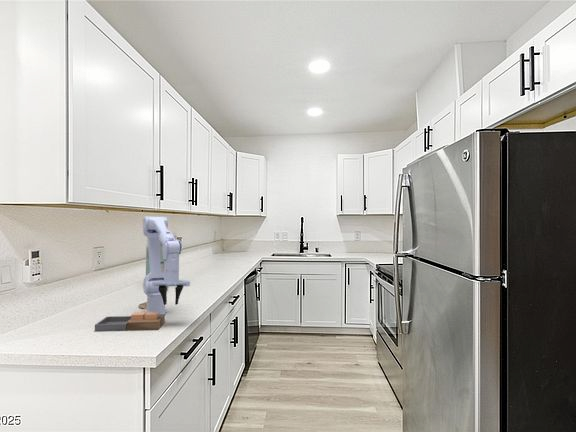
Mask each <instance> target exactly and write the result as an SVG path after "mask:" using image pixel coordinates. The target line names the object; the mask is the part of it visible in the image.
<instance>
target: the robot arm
mask: <svg viewBox="0 0 576 432" xmlns="http://www.w3.org/2000/svg"><path fill="white" fill-rule="evenodd" d="M168 225H169V220H168V217H167V216H150V215H149V216H148V215H145V216H144V217H143V219H142V231H143V236H144V237H147V240H148V248H149V265H150V273H149V274H148V275H147V276H146V275H145V276H144V278H143V284H142V285H143V286H142V288H143V293H144V294H145V295H146V296H147V297H146V302H147V309H146V313H147V312H159V314H165V315H166V313H167V312H168V310H167V309H166V305H167V302H168V301H167V300H168V299H167V298H168V297H167V292H168V291H169V288H170V287H174V289H175V291H174V292H175V301H174V302H175V303H174V304H175V305H176V306H177V305H178V304H179V300H180V295H181V294H182V291H183V289H184V287H190V286H191V280H180V279H179V278H180V277H179V275H180V255H181V253H182V247H183V246H182V242H181V240H180V239H176V238H175V236H174V235H173V232H172V231H171V230H168ZM159 240H160V242H161V244H162V251H163V259H164V273H162V272H161V263H160V248H159ZM152 279H159V280H152Z"/></svg>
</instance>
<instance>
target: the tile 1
mask: <svg viewBox="0 0 576 432" xmlns="http://www.w3.org/2000/svg"><path fill="white" fill-rule="evenodd" d="M146 313H147V311H134V312H133V313H131V314H130V316H131V320H144V319H145V314H146Z"/></svg>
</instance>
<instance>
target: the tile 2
mask: <svg viewBox="0 0 576 432" xmlns="http://www.w3.org/2000/svg"><path fill="white" fill-rule="evenodd" d="M158 317H159V312H147V311H146V314H145V320H156V319H157V318H158Z"/></svg>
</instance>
